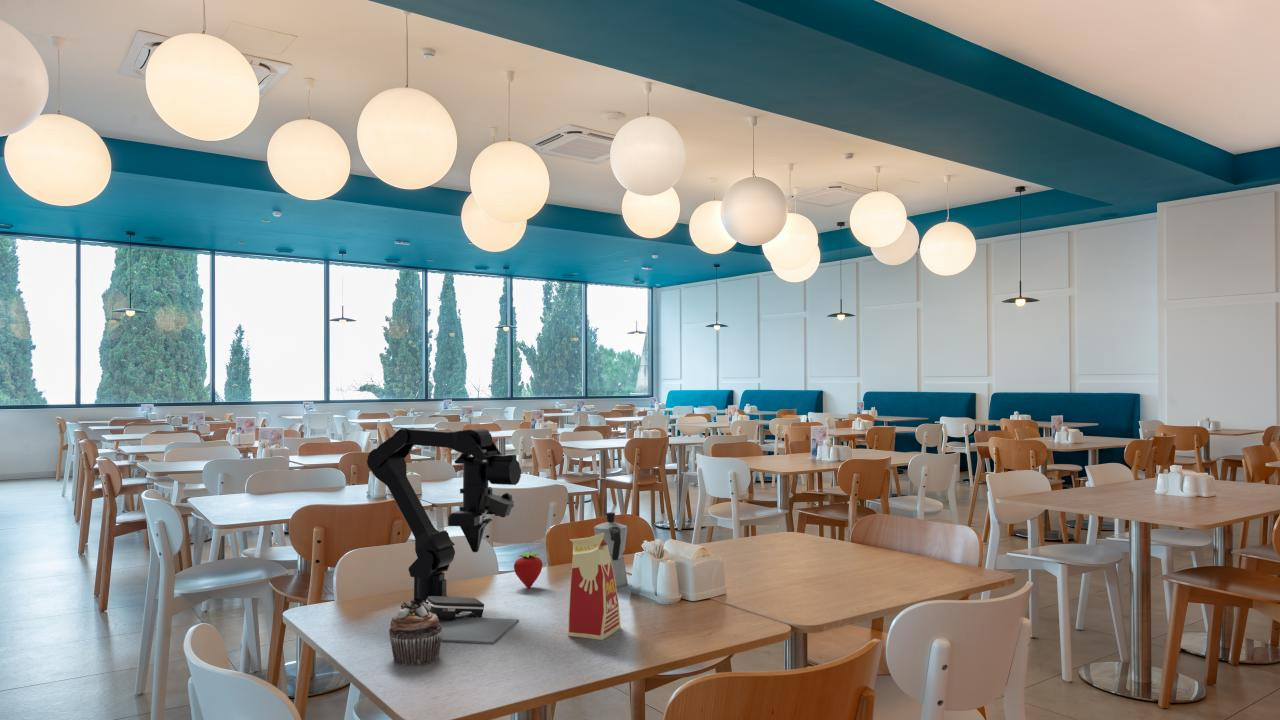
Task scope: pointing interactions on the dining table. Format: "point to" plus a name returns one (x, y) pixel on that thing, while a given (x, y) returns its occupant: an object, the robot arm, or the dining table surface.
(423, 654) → the cupcake
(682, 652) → the dining table surface
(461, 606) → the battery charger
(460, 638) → the mat
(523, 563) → the strawberry
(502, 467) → the robot arm
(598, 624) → the milk carton
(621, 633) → the dining table surface
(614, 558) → the coffee maker
